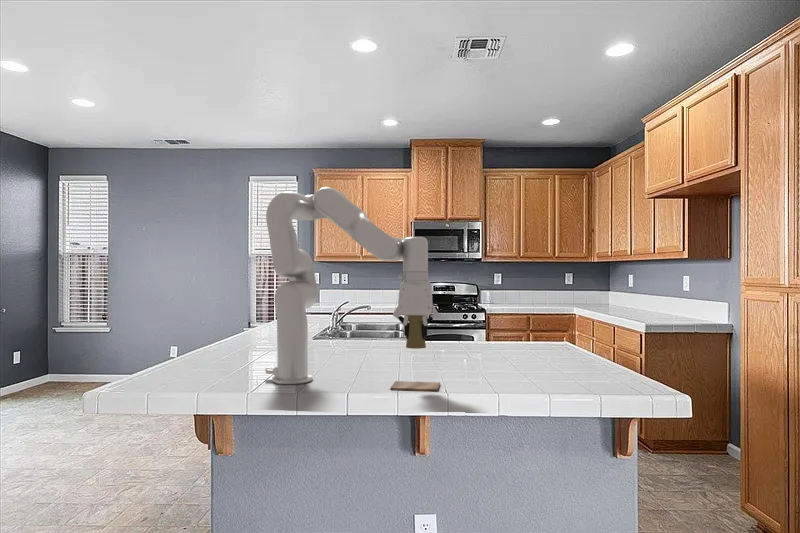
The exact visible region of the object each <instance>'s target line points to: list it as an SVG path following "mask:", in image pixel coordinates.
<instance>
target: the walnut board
mask: <svg viewBox="0 0 800 533" xmlns="http://www.w3.org/2000/svg"><path fill="white" fill-rule="evenodd" d="M440 386H441V382H435V381H433V382H432V381H431V382H430V381H404V380H403V381H402V380H401V381H399V380H397V381H396V380H395V381H394V382H393V384H392V385H391V386H390V391H411V390H412V392H413V391H415V392H416V391H418V392H439V389H440Z"/></svg>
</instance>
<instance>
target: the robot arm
mask: <svg viewBox="0 0 800 533" xmlns="http://www.w3.org/2000/svg"><path fill="white" fill-rule="evenodd" d="M323 219H324V220H325V219H328V220H330V222H332V223H333V224H335V225H336V226H337V227H339V228H340V229H341V230H342V231H344V232H345V233H346V234H348V236H349V237H350V238H352V239H353V240H354V241H355V242H356V243H357V244H358V245H360V247H362V248H363V249H364V250H365V251H367V252H368V253H370V254H371V255H372V256H374V257H375V258H376V259H378V260H381V261H384V262H398V261H399V262H400V261H402V271H403V272H402V273H399V274H397V275H398V276H397V277H398V279H401V280H402V282H400V284H399V289H398V291H399V292H398V305H397V306H396V308H395V309H394V311H393V313H392V316H393V317H394V318H396V319H397V320H399V321H400V323H401V324H402V325H403V326H404V330H403V332H404V333H403V334H404V335H403V336H404V337H406V338H405V339H406V340H407V339H408V336H409V321H408V316H423V318H422V319H423V326H422V338H423V339H425V340H426V337H428V325H429V324H430V323H431V322H432V321H433V320H435V319H437V317H439V316H440V313H439V312H438V311H437V309H436V307H435V306H434V303H433V292H432V285H431V282H429V241H428V239H427V238H426V237H424V236H407V237H405V238H403V237H397V236H396V237H395V236H392V235H389V234H387V233H386V232H385V231H384V230H382V229H381V228H379V227H378V226H377V225H376V224H375V223H374V222H372V221H371V220H370V219H369V218H368V216H367V213H366V212H365V211H364V210H363V209H362V208H360V207H359V206H357V205H356V204H354V203H353V202H352V201H350V200H349V199H348V198H347V196H346V195H345V194H344V193H343V192H342V191H340V190H338V189H335V188H333V187H329V186H324V187H321V188H319V189H318V190H316V191H315V193H314V194H307V195H305V194H302V193H299V192H294V191H282V192H279V193H277V195H275V196H274V197H273V198H272V199H271V200H270V202H269V204H268V206H267V209H266V213H265V221H266V227H267V231H268V238H269V245H270V251H271V257H272V265H273V269H274V270H273V271H274V272H275V273H276V275H278V276H279V277H282V278H288V281H287V282H284V283H282V284H281V285H279V286H278V287H277V289H276V290H275V293H274V308H275V313H276V314H275V315H276V333H277V336H276V337H277V340H276V341H277V342H276V346H277V347H276V348H277V350H276V352H277V353H276V356H277V359H276V362H277V364H276V366H274V367H272V366H266V367H265V369H264V370H265V374H267V375H271V374H272V375H273V377H272V379H271V380H272V383H275V384H278V385H302V384H305V383H308V382H312V380H313V375H312V374H309V373H308V371H309V370H308V369H309V368H308V366H309V365H308V364H309V363H308V351H309V350H308V349H309V348H308V345H309V344H308V337H309V336H308V334H309V333H308V318H307V312H306V309H309V308H312V307H313V306H314V305H315V304H316V302H317V300H318V285H317V278H316V273H315V268H314V262H313V259H312V257H311V256H310V254H309V253H308V252H307V251H306V250H304V249H301V248H299V244H298V239H297V234H296V230H295V227H294V224H293V220H295V221H299V222H300V221H302V222H309V221H315V220H323ZM428 316H429V317H428Z"/></svg>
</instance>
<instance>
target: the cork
mask: <svg viewBox="0 0 800 533" xmlns="http://www.w3.org/2000/svg"><path fill="white" fill-rule="evenodd" d="M422 318H423V316H408V321H409V322H408V323H409V336H408V339H406V345H405V348H407V349H412V350H413V349H415V350H416V349H418V350H419V349H425V348H426V347H427V345H426V338H425V339H423V338H422V326H423V319H422Z"/></svg>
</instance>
